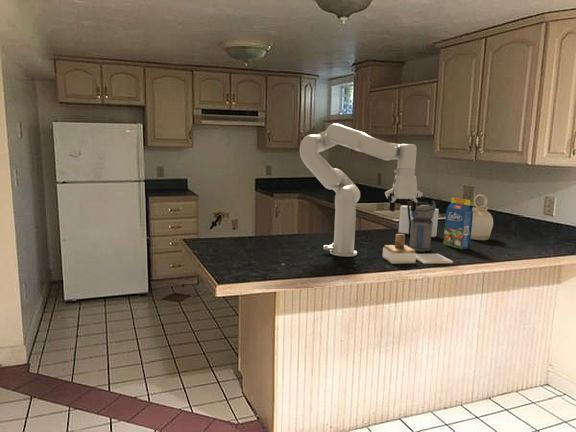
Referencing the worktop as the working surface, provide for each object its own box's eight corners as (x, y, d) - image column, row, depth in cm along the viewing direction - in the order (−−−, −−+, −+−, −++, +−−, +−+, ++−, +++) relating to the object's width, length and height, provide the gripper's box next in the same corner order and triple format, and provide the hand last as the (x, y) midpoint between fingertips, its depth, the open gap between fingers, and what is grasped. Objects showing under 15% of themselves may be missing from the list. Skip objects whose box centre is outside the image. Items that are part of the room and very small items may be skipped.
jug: (478, 234, 273) (482, 192, 269) (497, 240, 259) (502, 196, 254) (456, 235, 268) (460, 192, 264) (475, 241, 254) (479, 196, 250)
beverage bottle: (405, 246, 237) (409, 197, 233) (432, 249, 232) (436, 199, 228) (402, 250, 227) (406, 199, 223) (431, 253, 223) (435, 202, 219)
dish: (391, 263, 203) (392, 253, 202) (382, 257, 213) (383, 247, 212) (415, 263, 204) (416, 253, 204) (404, 256, 215) (405, 247, 214)
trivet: (423, 263, 204) (423, 261, 204) (410, 255, 218) (410, 253, 218) (453, 263, 206) (453, 261, 206) (437, 255, 220) (438, 253, 220)
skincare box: (436, 236, 266) (439, 208, 263) (434, 237, 261) (436, 209, 258) (401, 231, 277) (403, 204, 274) (397, 232, 272) (399, 205, 269)
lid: (392, 253, 202) (393, 237, 201) (383, 247, 212) (385, 232, 211) (415, 253, 204) (416, 237, 203) (405, 247, 214) (406, 232, 213)
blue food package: (451, 243, 247) (455, 197, 242) (469, 248, 236) (474, 200, 232) (442, 244, 244) (447, 197, 239) (461, 249, 233) (465, 200, 229)
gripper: (390, 172, 197) (387, 212, 200) (428, 173, 201) (424, 212, 203) (383, 171, 205) (380, 209, 207) (420, 172, 208) (416, 210, 211)
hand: (402, 211), depth 205 cm, fingers open, 9 cm apart
